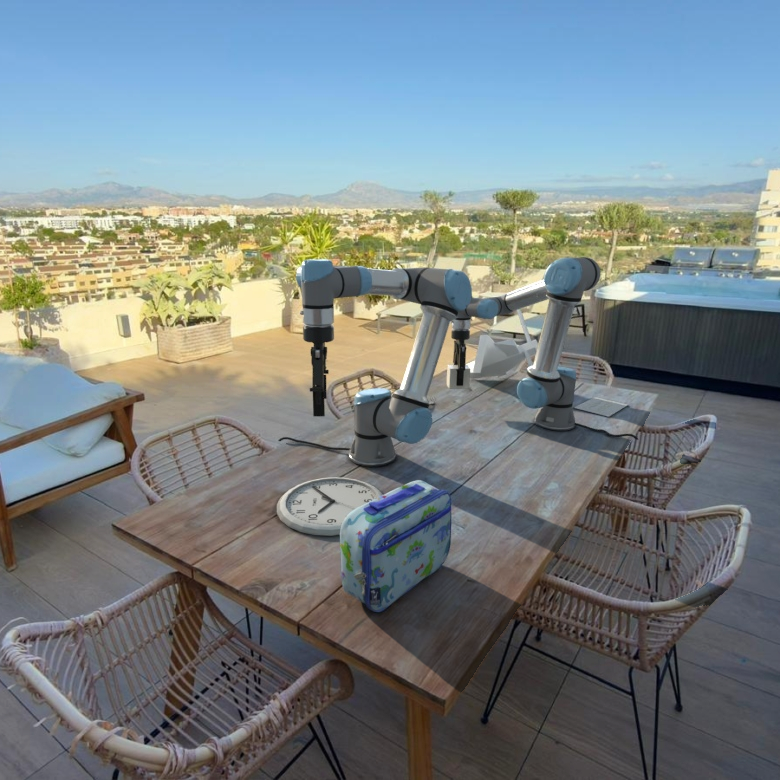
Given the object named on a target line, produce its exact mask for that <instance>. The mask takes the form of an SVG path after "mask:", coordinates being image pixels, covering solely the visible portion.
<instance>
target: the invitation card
mask: <svg viewBox="0 0 780 780" xmlns="http://www.w3.org/2000/svg"><path fill="white" fill-rule="evenodd" d="M628 406H629V404H627V403H623V402H618V401H614V400H609V399H605V398H601V397H596V396H593V397H592V398H590V399H588V400H586V401H584V402H582V403H580V404H578V405H575V406H574V407H573V409H575V410H581V411H584V412H587V413H593V414H596V415H600V416H604V417H608V418H609V417H611V416H613V415H614V414H616V413H617V412H619V411H621V410H623V409H624V408H626V407H628Z"/></svg>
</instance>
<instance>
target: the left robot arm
mask: <svg viewBox="0 0 780 780" xmlns="http://www.w3.org/2000/svg"><path fill="white" fill-rule="evenodd" d="M295 280H296V283H297V285H298V287H299V288H300V289H301V303H302V304H301V307H302V310H300V311H299V315H301V316H302V323H303V326H302V338H303V341H304V342H306V343H312V344H313V346H311V347H310V357H311V362H310V363H311V367H312V376H311V377H312V383H311V384H312V387H310V388H309V392H311V393H312V411H313V412H312V414H313V415H312V416H313V417H325V415H326V414H325V413H326V412H325V410H326V409H325V406H326V405H325V400H328V399H327V398H328V396H327V395H328V394H327V392H328V391H327V389H328V388H327V375H329V373H330V372H329V371H330V370H329V369H327V356H328V346H326V343H330V342H333V341H334V340H335V326H334V325H333V324H334V323H335V306H334V305H335V304H334V303H335V302H334V301H335V300H334V299H341V298H342V299H343V298H355V297H356V298H358V297H361V296H366V295H368V296H369V295H370V296H384V297H385V296H388V297H390V298H391V299H393V300H401V301H406V302H411V303H412V304H413V303H414V304H418V305H419V308H420V310H421V311H422V317H421V320H420V323H419V327H418V330H417V333H416V336H415V339H414V341H413V346H412V348H411V352H410V354H409V358H408V361H407V365H406V368H405V371H404V374H403V377H402V380H401V384H400V386H399V388H398V389H397V390H394V391H393V393H392V392H391V390H390V389H388V388H383V387H382V388H380V387H378V388H377V387H376V388H368V389H367V388H366V389H363V390H360V391H358V392H356V394H355V396H354V404H353V412H354V413H353V415H354V417H353V418H354V420H353V421H354V436H353V439H352V442H351V445H350V447H333V446H327V445H324V444H320V443H315V442H311V441H307V440H301V439H300V440H299V439H296V438H292V437H289V436H283V437H280V438H279V439H278V440H277V441H278V442H281V441H284V440H289V441H292V442H296V443H300V444H306V445H311V446H315V447H319V448H322V449H327V450H331V451H349V452H348V457H349V460H350V461H351V462H352V463H354V464H356V465H358V466H362V467H370V468H377V467H383V466H387V465H389V464H391V463H393V462H394V461H395V460H396V449H395V445H394V443H393V440H392V439H394V440H397V441H398V442H401V443H406V444H409V445H413V444H414V445H415V444H418V443H420V442H421V441H422V440H423V439H424V438H426V436H427V435H428V434H429V433H430V430H431V427H432V425H433V418H432V417H433V414H432V412H431V411H430V409H429V408H430V405H431V404H430V403H429V401H430V400H428V394H429V391H430V388H431V386H432V385H431V384H432V381H433V378H434V375H435V372H436V369H437V366H438V362H439V359H440V355H441V353H442V349H443V346H444V343H445V339H446V337H447V333H448V330H449V328H450V327H449V326H450V324H451V321H453V320H454V319H456V318H457V315H458V312H459V311H462V310H465V309H466V307H468V305H469V303H470V301H471V296H472V297H473V289H472V284H471V280H470V277H469V276H468V275H467V274H466V273H465V272H464V271H462V270H457V269H453V268H448V269H447V268H436V267H427V266H426V267H409V268H408V267H406V268H404V267H403V268H401V267H395V268H393V269H391V270H388V269H378V268H369V267H368V268H367V267H365V266H362V265H353V266H352V265H351V266H349V265H348V266H347V265H335V264H333V260H330V259H325V258H324V259H323V258H320V259H318V258H316V259H313V258H309V259H305V260H303V261H302V263H301V265H300V266H299V267H298V268H297V270H296V274H295ZM429 404H430V405H429Z"/></svg>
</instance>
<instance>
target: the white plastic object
mask: <svg viewBox="0 0 780 780" xmlns="http://www.w3.org/2000/svg"><path fill="white" fill-rule="evenodd" d="M516 312H517V315H518V318H519V322H520V325H521V328H522V331H523V333H524V337H525V339H526V340H525V341H526V342H524V343H523V344H517V343H516V340H515V339H514V338H510V339H506V340H505V339H504V340H500V341H496V342H495V341H494V339H493V338H491V336H490V335H489V334H480V335H479V339H478V345H477V350H476V354H475V358H474V360H473V361H471V362H468V363H465V365H468V366H469V368H470V380H474V379H481V378H482V379H483V378H491V377H497V378H501V377H503V376H506V375H507V372H509V371H511V370H512V369H513V368H515V367H516V366H517V365H519V364H521V363H522V362H524V361H525V360H526V362H527V365H528V367H530V366H531V365H533V363H534V362H533V361H532V358H531V356H533V355H536V351H537V347H538V343H539V341H538V340H537V339H532V338H531V336H530V335H531V334H530V332H529V330H528V327H527V323H526V320H525V318H524V315H523V311H522V310H521V309H518V310H516Z"/></svg>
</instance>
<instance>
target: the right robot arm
mask: <svg viewBox="0 0 780 780" xmlns="http://www.w3.org/2000/svg"><path fill="white" fill-rule="evenodd" d="M601 275H602V273H601V267H600V266H599V264H598V262H597V261H596V260H594V259H593V258H591V257H588V256H582V257H581V256H580V257H562V258H559V259H556V260H554V261H553V262H551V263H550V264H549V266H547V268H546V270H545V272H544V276H543V279H542V280H539V281H536V282H533V283H531V284H528V285H526V286H524V287H523V286H522V287H521V288H518V289H515V290H512V291H510V292H507V293H505V294H502V295H499V296H493V297H484V298H482V297H481V298H480V297H474V296H473V295H472V296H471V301H470V303H469V305H468V307H466V309H465V310H462V311H459V312H458V315H457V318H456V319H454V320H453V321H451V322H450V324H451V336H450V337H451V339H452V340H453V357H452V364H453V365H458V369H456V371H457V383H456V385H457V386H463V379H464V370H465V365H466V364H467V363H466V361H467V360H466V358H467V344H466V343H465V341H467V340H469V339H470V337H471V336H470V335H471V330H470V329H471V322H472V319H471V318H478V319H483V320H492V319H494V318H495V317H497V316H507V315H509V314H512V313H513V312H515V311H517V310H518V309H520V310H522V309H523V308H527V307H530V306H533V305H536V304H539V303H542V302H545V301H547V300H548V304H547V308H546V312H545V316H544V320H543V324H542V329H541V333H540V335H539V339H538V347H537V351H536V354H534V358H533V359H534V360H533V362H532V363H533V365H531V366H530V367H529V366H528V367H527V370H526V373H525V374H526V375H525V377H524V378H522V379H521V380H520V381H519V382H518V384H517V386H516V393H517V397H518V398H519V400H520V402H521V404H523V406H525V407H527V408H529V409H531V410H533V409H534V410H535V409H538V410H537V411H536V413H535V417H534V424H535V425H536V426H537V427H539V428H542V429H544V430H549V431H556V432H567V431H572V430H574V429H575V428H576V426H577V427H581V428H583V429H587V430H589V431H594V432H599V433H604V434H606V435H607V436H608V437H611V438H622V437H632V438H634V439H635V440H639V438H638V436H636V435H635V434H632V433H622V434H621V433H620V434H612V433H609V431H607V430H606V429H598V428H593V427H591V426H588V425H584V424H582V423H577V422H576V418H575V417H576V416H575V413H574V407H573V405H574V398H575V391H576V383H577V372H576V370H575V369H573V368H571V367H566V366H561V365H560V362H561V357H562V354H563V351H564V346H565V343H566V340H567V336H568V333H569V329H570V325H571V322H572V318H573V315H574V314H573V313H574V310H575V306H577V305H578V304H580V303H581V302H582V299H583V295H584V292H587V291H590V290H592V289H593V288H595V287H596V286H597V285H598V283H599V281H600V280H601ZM461 367H463V368H461Z"/></svg>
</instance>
